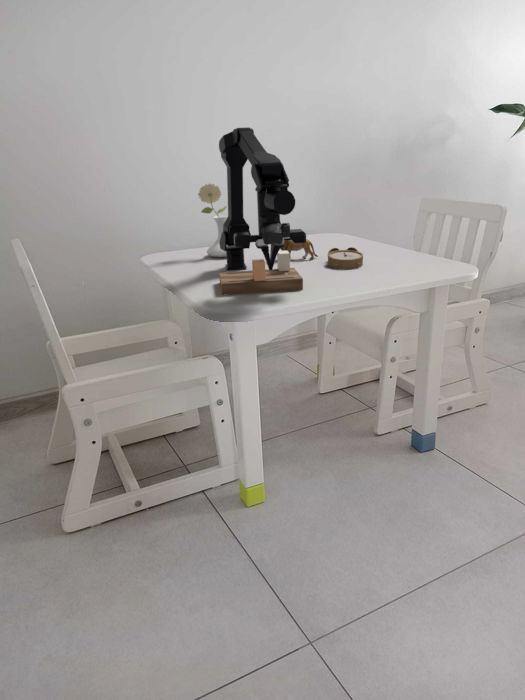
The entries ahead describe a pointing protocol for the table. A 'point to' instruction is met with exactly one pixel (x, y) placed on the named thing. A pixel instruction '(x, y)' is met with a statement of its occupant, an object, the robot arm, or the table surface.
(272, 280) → the board
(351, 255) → the alarm clock
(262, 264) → the terracotta fader
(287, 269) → the block
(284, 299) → the table surface
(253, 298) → the table surface
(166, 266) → the table surface
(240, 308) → the table surface
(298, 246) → the lion figurine
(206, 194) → the flower in vase
